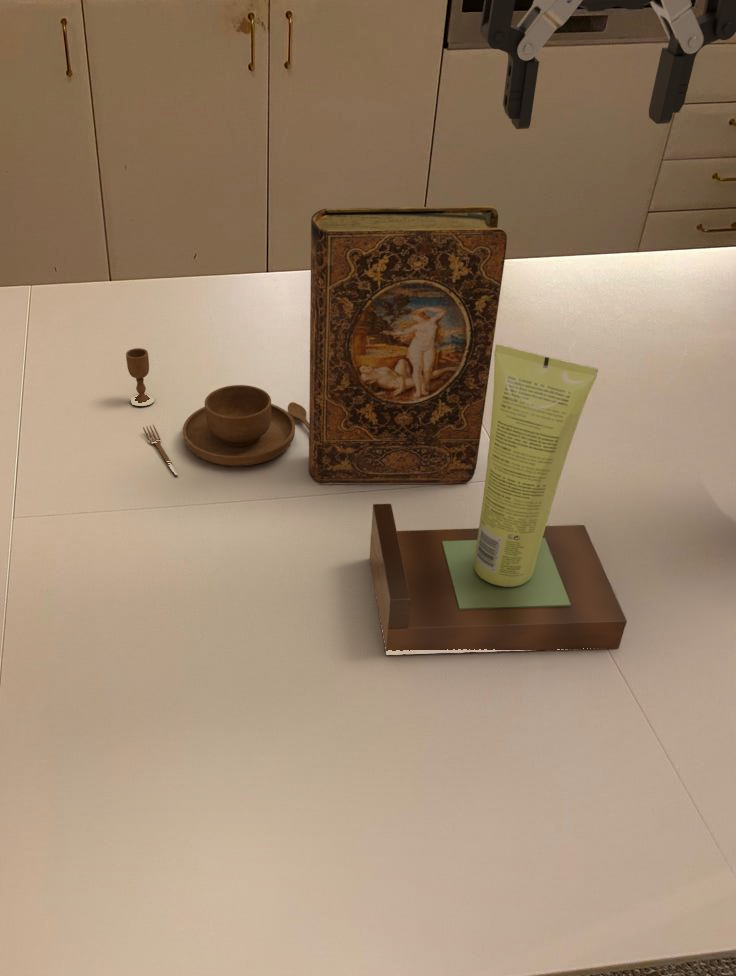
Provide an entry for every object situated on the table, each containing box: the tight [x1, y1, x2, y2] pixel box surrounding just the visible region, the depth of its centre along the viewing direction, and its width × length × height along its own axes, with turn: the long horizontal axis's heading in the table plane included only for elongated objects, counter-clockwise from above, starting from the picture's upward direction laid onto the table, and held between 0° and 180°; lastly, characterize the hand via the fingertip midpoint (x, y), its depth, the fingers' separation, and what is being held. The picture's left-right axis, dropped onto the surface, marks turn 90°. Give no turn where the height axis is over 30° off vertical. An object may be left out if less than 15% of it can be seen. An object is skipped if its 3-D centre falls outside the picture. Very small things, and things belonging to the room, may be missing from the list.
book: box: [308, 205, 508, 485], centre depth 92 cm, size 16×6×25 cm, turn 88°
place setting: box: [125, 347, 309, 467], centre depth 106 cm, size 18×20×6 cm
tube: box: [474, 343, 599, 587], centre depth 76 cm, size 6×5×20 cm
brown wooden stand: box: [369, 503, 628, 651], centre depth 83 cm, size 19×13×6 cm
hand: (589, 123), depth 60 cm, fingers open, 8 cm apart
